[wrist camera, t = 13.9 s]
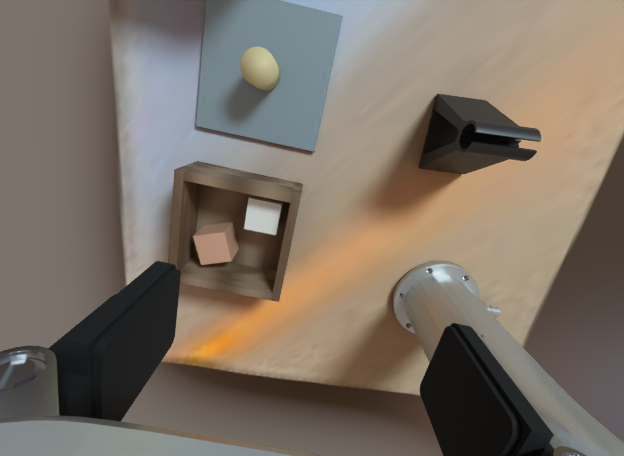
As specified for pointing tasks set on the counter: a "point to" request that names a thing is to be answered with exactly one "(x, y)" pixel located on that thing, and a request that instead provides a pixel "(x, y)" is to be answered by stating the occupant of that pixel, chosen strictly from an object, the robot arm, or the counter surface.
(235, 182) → the box
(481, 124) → the phone stand
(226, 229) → the terracotta block
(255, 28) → the lid
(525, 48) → the counter surface
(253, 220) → the white block
